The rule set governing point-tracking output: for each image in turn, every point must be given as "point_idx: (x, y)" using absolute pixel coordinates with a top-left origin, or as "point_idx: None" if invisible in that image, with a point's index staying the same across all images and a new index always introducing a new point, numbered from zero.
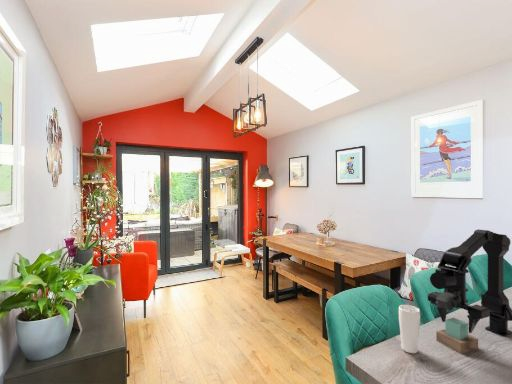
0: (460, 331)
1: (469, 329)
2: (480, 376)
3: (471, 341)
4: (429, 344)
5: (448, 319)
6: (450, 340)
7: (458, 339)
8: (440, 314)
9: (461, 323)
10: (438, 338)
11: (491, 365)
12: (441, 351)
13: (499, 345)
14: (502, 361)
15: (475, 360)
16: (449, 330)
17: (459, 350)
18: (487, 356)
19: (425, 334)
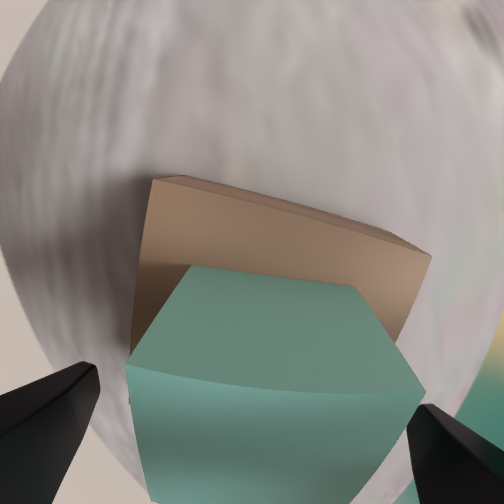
0: (161, 318)
1: (59, 381)
2: (40, 32)
3: (134, 335)
4: (398, 118)
5: (383, 449)
6: (272, 206)
7: (204, 257)
8: (491, 452)
9: (177, 463)
10: (385, 232)
11: (31, 203)
12: (292, 77)
13: (132, 452)
14: (34, 305)
15: (89, 173)
16: (320, 306)
17: (185, 177)
18: (82, 300)
19: (465, 264)
